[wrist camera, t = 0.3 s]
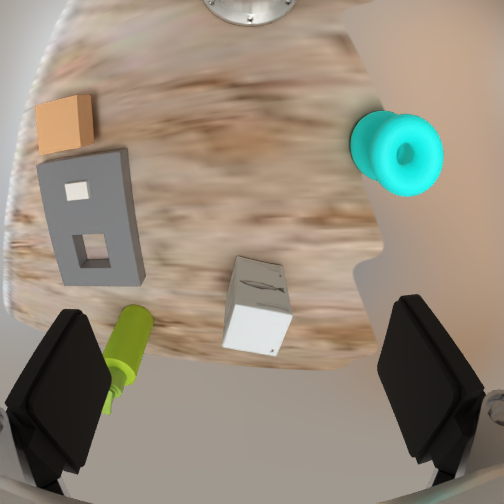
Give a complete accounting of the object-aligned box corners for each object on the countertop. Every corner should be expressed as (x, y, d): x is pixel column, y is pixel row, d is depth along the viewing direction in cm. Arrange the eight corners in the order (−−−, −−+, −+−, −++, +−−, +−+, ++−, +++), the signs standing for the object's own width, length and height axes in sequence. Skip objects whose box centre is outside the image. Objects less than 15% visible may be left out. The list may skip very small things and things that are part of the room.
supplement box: (283, 264, 49) (296, 315, 37) (269, 303, 52) (276, 358, 40) (236, 253, 48) (234, 303, 36) (224, 294, 51) (221, 349, 39)
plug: (60, 103, 36) (35, 106, 30) (99, 94, 36) (76, 94, 30) (64, 146, 39) (39, 155, 33) (102, 139, 39) (80, 147, 33)
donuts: (396, 99, 29) (459, 140, 31) (364, 98, 38) (419, 130, 40) (361, 179, 33) (426, 212, 35) (336, 161, 42) (393, 189, 44)
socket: (46, 160, 40) (33, 166, 36) (127, 148, 40) (117, 153, 37) (71, 276, 49) (62, 288, 45) (145, 276, 49) (139, 289, 45)
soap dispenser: (157, 306, 51) (127, 401, 34) (150, 335, 54) (122, 426, 36) (125, 295, 50) (82, 384, 32) (119, 324, 53) (83, 412, 35)
